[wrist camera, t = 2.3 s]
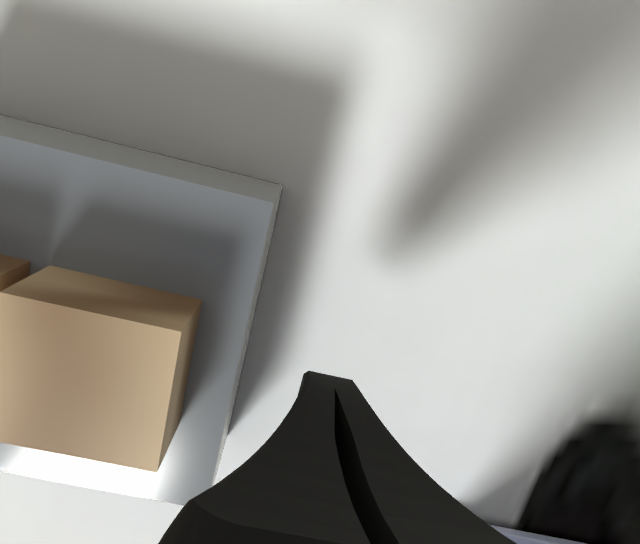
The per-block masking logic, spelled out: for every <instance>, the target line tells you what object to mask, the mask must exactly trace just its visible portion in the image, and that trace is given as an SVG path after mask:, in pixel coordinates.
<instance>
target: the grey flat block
mask: <svg viewBox="0 0 640 544" xmlns="http://www.w3.org/2000/svg"><path fill="white" fill-rule="evenodd" d="M282 188H283V185H280V184H276V183H272V182H268V181H264V180H260V179H256V178H252V177H248V176H244V175H240V174H236V173H232V172H228V171H224V170H220V169H216V168H212V167H208V166H204V165H200V164H196V163H192V162H188V161H184V160H180V159H176V158H172V157H168V156H164V155H160V154H156V153H152V152H148V151H144V150H140V149H136V148H132V147H128V146H124V145H120V144H116V143H112V142H108V141H104V140H100V139H96V138H92V137H88V136H84V135H80V134H76V133H72V132H68V131H64V130H60V129H56V128H52V127H48V126H44V125H40V124H36V123H32V122H28V121H24V120H20V119H16V118H12V117H8V116H4V115H0V254H2V255H6V256H11V257H15V258H20V259H24V260H29V261H30V275H29V276H31V275H33V274H34V273H36V272H38V271H40V270H42V269H44V268H46V267H48V266H50V265H51V266H55V267H60V268H64V269H69V270H73V271H78V272H82V273H86V274H91V275H95V276H100V277H104V278H109V279H113V280H118V281H122V282H126V283H131V284H135V285H140V286H144V287H149V288H153V289H158V290H162V291H166V292H171V293H175V294H180V295H184V296H189V297H193V298H197V299H202V304H201V310H200V315H199V321H198V326H197V331H196V337H195V342H194V348H193V353H192V359H191V364H190V370H189V375H188V380H187V386H186V391H185V397H184V402H183V408H182V413H181V418H180V423H179V426H178V428H177V430H176V432H175V434H174V436H173V439H172V441H171V443H170V445H169V447H168V450H167V452H166V454H165V456H164V458H163V461H162V463H161V465H160V467H159V469H158V472H152V471H147V470H142V469H137V468H131V467H126V466H121V465H116V464H110V463H105V462H100V461H95V460H89V459H84V458H79V457H74V456H68V455H63V454H58V453H53V452H47V451H42V450H37V449H32V448H27V447H21V446H16V445H11V444H6V443H0V471H1V472H6V473H12V474H17V475H23V476H28V477H33V478H39V479H44V480H50V481H55V482H60V483H66V484H71V485H76V486H82V487H87V488H93V489H98V490H103V491H109V492H114V493H120V494H125V495H130V496H136V497H141V498H146V499H152V500H157V501H163V502H168V503H173V504H179V505H184V506H185V504H186V503H187V502H188V500H190V499H192V498H194V497H195V496H197V495H199V494H200V493H202V492H204V491H206V490H207V489H209V488H211V487H212V486H213V484H214V480H215V477H216V473H217V470H218V466H219V463H220V459H221V456H222V452H223V449H224V445H225V442H226V438H227V434H228V429H229V425H230V421H231V416H232V412H233V407H234V403H235V398H236V394H237V389H238V385H239V380H240V376H241V371H242V367H243V362H244V358H245V353H246V349H247V344H248V340H249V336H250V331H251V327H252V322H253V318H254V313H255V309H256V304H257V300H258V295H259V291H260V286H261V282H262V277H263V273H264V268H265V264H266V260H267V255H268V251H269V246H270V242H271V237H272V233H273V228H274V224H275V219H276V215H277V210H278V206H279V201H280V197H281V192H282Z"/></svg>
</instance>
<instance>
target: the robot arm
mask: <svg viewBox="0 0 640 544" xmlns="http://www.w3.org/2000/svg"><path fill="white" fill-rule="evenodd" d="M158 544H586V543H581V542H576V541H571V540H566V539H561V538H555V537H550V536H545V535H540V534H535V533H530V532H524V531H519V530H514V529H509V528H504V527H498V526H493V525H489V524H487V523H486V522H484V521H483V520H482V519H480V518H479V517H477V516H476V515H475V514H473V513H472V512H471V511H470V510H468V509H467V508H466V507H464V506H463V505H462V504H461V503H459V502H458V501H457V500H456V499H455V498H453V497H452V496H451V495H450V494H449V493H448V492H446V491H445V490H444V489H443V488H442V487H441V486H439V485H438V484H437V483H436V482H435V481H434V480H433V479H432V478H431V477H430V476H429V475H428V474H427V473H426V472H425V471H424V470H423V469H422V468H421V467H420V466H419V465H418V464H417V463H416V462H415V461H414V460H413V459H412V458H411V457H410V456H409V455H408V454H407V453H406V452H405V450H404V449H403V448H402V447H401V446H400V444H399V443H398V442H397V441H396V440H395V439H394V437H393V436H392V435H391V434H390V432H389V431H388V430H387V429H386V427H385V426H384V425H383V423H382V422H381V421H380V419H379V418H378V416H377V415H376V414H375V412H374V411H373V409H372V408H371V407H370V405H369V404H368V402H367V401H366V399H365V398H364V396H363V395H362V393H361V392H360V390H359V389H358V387H357V386H356V385H355V383H354V382H353V380H349V379H345V378H340V377H335V376H331V375H326V374H321V373H317V372H312V371H308V372H306V373H304V375H303V379H302V382H301V386H300V390H299V393H298V397H297V399H296V401H295V402H294V404H293V406H292V408H291V410H290V411H289V413H288V414H287V416H286V417H285V418H284V420H283V421H282V423H281V424H280V426H279V427H278V428H277V429H276V431H275V432H274V433H273V434H272V436H271V437H270V438H269V439H268V440H267V441H266V442H265V444H264V445H263V446H262V447H261V448H260V449H259V450H258V451H257V452H256V453H255V454H254V455H252V456H251V457H250V458H249V459H248V460H247V461H246V462H245V463H244V464H242V465H241V466H240V467H239V468H237V469H236V470H235V471H233V472H232V473H231V474H229V475H228V476H227V477H226V478H224V479H223V480H222V481H220V482H219V483H217V484H216V485H214V486H212V487H211V488H209V489H207V490H206V491H204V492H202V493H200V494H199V495H197V496H195V497H194V498H192V499H190V500H188V502H187V503H186V504H185V506H184V507H183V508H182V510H181V511H180V512H179V514H178V515H177V517H176V518H175V519H174V521H173V522H172V524H171V525H170V526H169V528H168V529H167V531H166V532H165V534H164V535H163V537H162V539H161V540H160V542H159V543H158Z"/></svg>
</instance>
